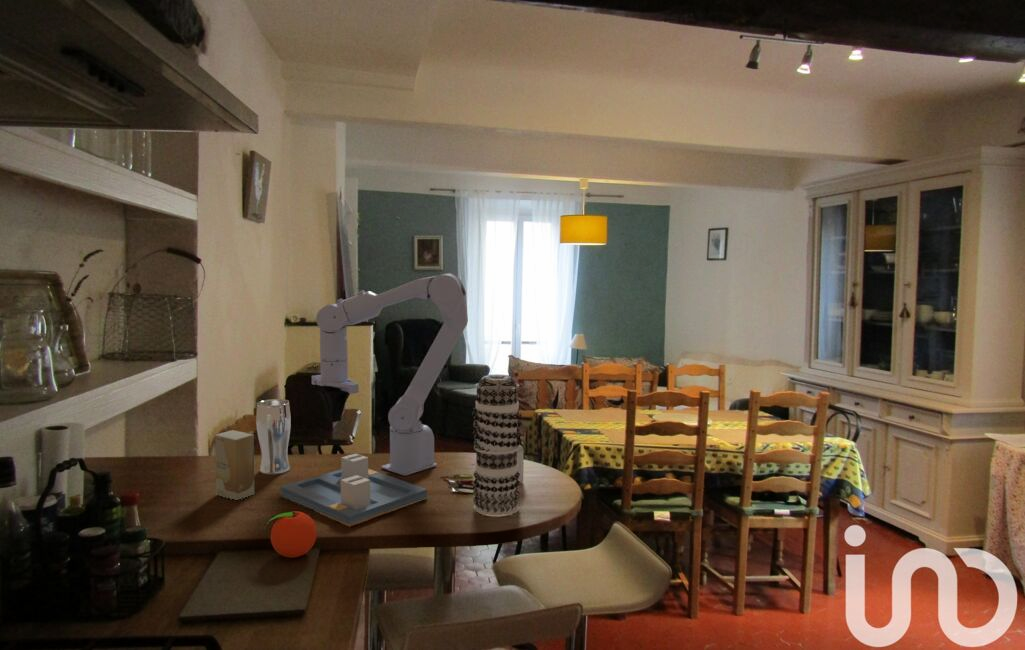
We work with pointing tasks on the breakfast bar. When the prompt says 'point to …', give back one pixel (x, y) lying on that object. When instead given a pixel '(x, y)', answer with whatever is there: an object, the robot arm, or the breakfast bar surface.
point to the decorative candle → (496, 445)
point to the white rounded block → (520, 463)
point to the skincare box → (234, 464)
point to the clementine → (293, 534)
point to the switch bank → (327, 495)
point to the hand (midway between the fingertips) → (335, 421)
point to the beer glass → (273, 435)
